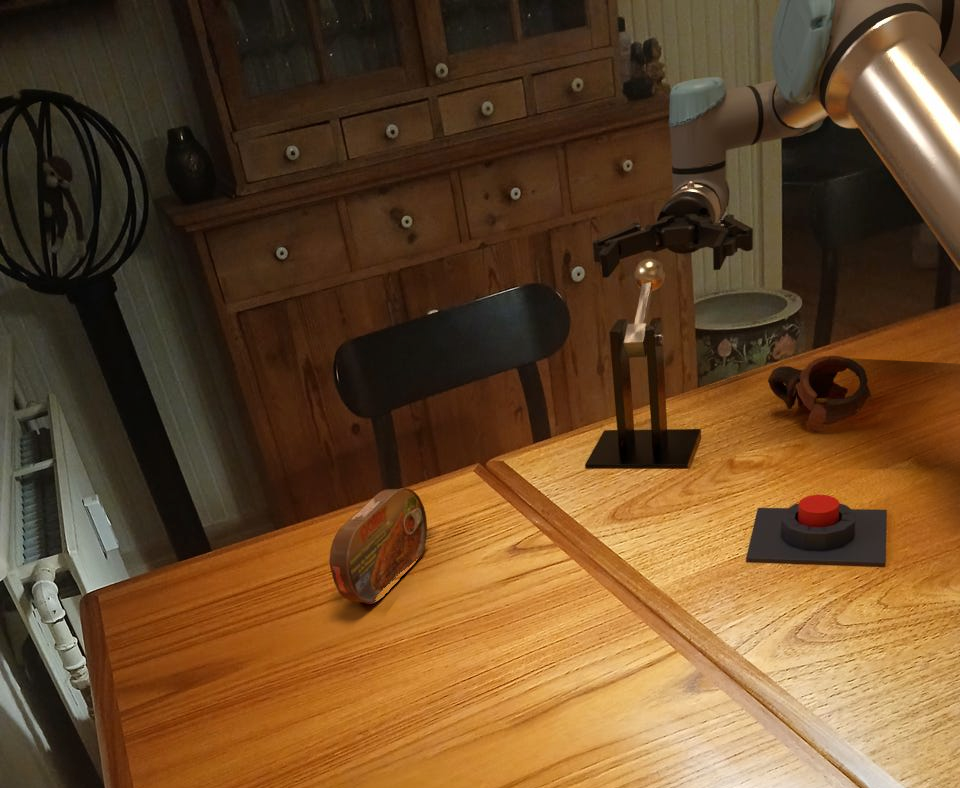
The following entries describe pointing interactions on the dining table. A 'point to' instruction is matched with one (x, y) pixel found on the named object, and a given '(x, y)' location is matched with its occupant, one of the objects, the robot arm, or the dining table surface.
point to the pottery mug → (820, 389)
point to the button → (818, 511)
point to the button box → (819, 538)
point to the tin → (378, 544)
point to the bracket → (659, 442)
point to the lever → (643, 305)
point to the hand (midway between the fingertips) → (659, 262)
